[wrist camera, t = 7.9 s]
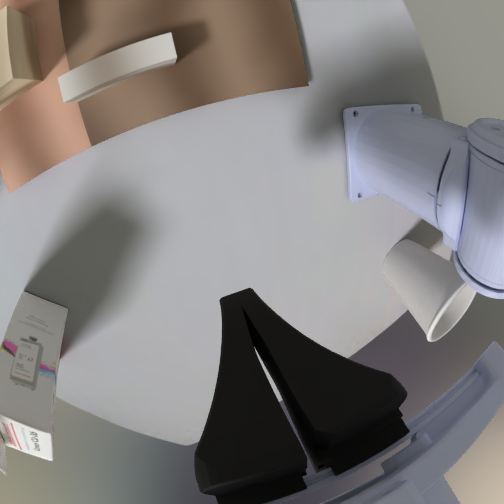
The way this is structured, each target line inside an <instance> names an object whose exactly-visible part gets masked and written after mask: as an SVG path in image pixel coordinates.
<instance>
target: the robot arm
mask: <svg viewBox="0 0 504 504" xmlns="http://www.w3.org/2000/svg"><path fill="white" fill-rule="evenodd" d="M354 111H355V116H354V115H353V112H354ZM343 120H344V130H345V141H346V154H347V170H348V194H349V199H350V200H351V201H352V202H356V201H359V200H362V199H366V198H369V197H372V196H375V195H378V194H382V195H384V196H385V197H387V198H389V199H391V200H392V201H394V202H396V203H398V204H399V205H401V206H403V207H404V208H406V209H408V210H409V211H411V212H412V213H414V214H416V215H417V216H419V217H420V218H422V219H423V220H425V221H427V222H428V223H430V224H431V225H433V226H434V227H436V228H437V229H439V230H440V231H442V232H443V243H444V244H446V245H447V246H448V247H450V248H451V249H452V250H454V255H453V256H454V264H455V267H456V269H457V271H458V273H459V275H460V276H461V278H462V279H463V280H464V281H465V282H466V283H467V284H468V285H469V286H470V287H471V288H473V289H474V290H475V291H477V292H479V293H481V294H482V295H485V296H488V297H491V298H497V299H504V120H500V119H493V118H480V119H477V120H476V121H475V122H474V123H472V124H470V125H469V126H468V127H467V128H465V127H462V126H459V125H456V124H453V123H449V122H446V121H443V120H439V119H436V118H432V117H428V116H424V115H422V108H421V106H420V105H419V104H389V105H372V106H360V107H349V108H345V109H344V111H343ZM359 193H360V194H359ZM358 194H359V196H358ZM219 301H220V305H221V313H222V344H221V356H220V365H219V372H218V378H217V383H216V388H215V392H214V397H213V401H212V405H211V408H210V412H209V415H208V418H207V422H206V425H205V428H204V431H203V433H202V436H201V439H200V441H199V444H198V446H197V449H196V451H195V460H194V461H195V464H194V465H195V475H196V480H197V483H198V486H199V489H200V492H202V493H204V494H208V495H215V496H216V499H217V502H218V504H280V503H283V502H286V501H288V500H291V499H294V498H297V497H300V496H302V495H305V494H307V493H310V492H312V491H315V490H317V489H319V488H322V487H324V486H327V485H329V484H331V483H333V482H335V481H337V480H340V479H342V478H344V477H346V476H348V475H350V474H352V473H353V472H355V471H357V470H359V469H361V468H363V467H364V466H366V465H368V464H370V463H372V462H373V461H375V460H376V459H378V458H380V457H382V456H383V455H385V454H386V453H388V452H390V451H391V450H393V449H394V448H396V447H397V446H399V445H400V444H402V443H403V442H405V441H406V440H407V439H409V438H410V437H412V438H411V443H410V444H409V445H408V446H407V447H405V448H404V449H402V450H401V451H399V452H398V453H396V454H395V455H393V456H392V457H390V458H389V459H387V460H385V461H384V462H382V463H381V467H382V468H383V470H384V472H383V473H381V474H379V475H378V476H376V477H374V478H372V479H370V480H369V481H367V482H365V483H363V484H361V485H359V486H357V487H355V488H353V489H351V490H349V491H347V492H345V493H343V494H341V495H339V496H337V497H334V498H332V499H330V500H328V501H325V502H323V503H321V504H460V502H459V501H458V499H457V497H456V496H455V494H454V492H453V491H452V489H451V488H450V486H449V484H448V483H447V481H446V480H445V478H444V476H443V475H444V474H445V473H446V472H447V471H448V470H449V469H450V468H451V467H452V466H453V465H454V464H455V463H456V462H457V461H458V460H459V459H460V458H461V457H462V455H463V454H464V453H465V452H466V451H467V450H468V449H469V448H470V446H471V445H472V444H473V443H474V442H475V440H476V439H477V438H478V437H479V435H480V434H481V433H482V431H483V430H484V429H485V428H486V426H487V425H488V424H489V422H490V421H491V420H492V418H493V417H494V415H495V414H496V413H497V411H498V410H499V408H500V407H501V405H502V404H503V402H504V350H503V349H502V348H501V347H500V346H499V345H498V344H497V342H496V341H493V343H492V344H491V345H490V346H489V347H488V348H487V350H485V352H484V353H483V354H482V355H481V356H480V357H479V359H478V360H477V361H476V362H475V364H474V366H473V367H472V368H471V369H470V370H469V371H468V372H467V373H466V374H465V375H464V376H463V377H462V378H461V379H460V380H459V381H457V382H456V383H455V384H454V385H453V386H452V387H451V388H450V389H449V390H448V391H446V392H445V393H444V394H443V395H442V396H441V397H439V398H438V399H437V400H436V401H435V402H433V403H432V404H431V405H430V406H428V407H427V408H426V409H425V410H423V411H422V412H421V413H419V414H418V415H417V416H415V417H414V418H413V419H411V420H410V421H408V422H407V423H406V424H405V423H404V422H403V420H402V419H401V417H402V416H403V415H402V413H401V411H400V410H399V407H400V406H401V404H402V403H403V402H404V400H405V399H406V397H407V391H406V390H405V389H404V387H403V386H402V385H401V384H400V383H399V382H398V381H397V380H396V379H395V378H394V377H393V376H392V375H391V374H389V373H386V372H383V371H379V370H376V369H373V368H370V367H367V366H364V365H362V364H359V363H357V362H354V361H352V360H349V359H347V358H345V357H343V356H341V355H339V354H337V353H334V352H332V351H330V350H328V349H327V348H325V347H323V346H321V345H319V344H318V343H316V342H314V341H313V340H311V339H310V338H308V337H306V336H305V335H303V334H302V333H301V332H299V331H298V330H296V329H295V328H294V327H292V326H291V325H290V324H288V323H287V322H286V321H285V320H283V319H282V318H281V317H280V316H279V315H278V314H276V313H275V312H274V311H273V310H272V309H271V308H270V307H269V306H268V305H267V304H266V303H264V302H263V300H262V299H261V298H260V297H259V296H258V295H257V294H256V293H255V292H254V290H253V289H251V288H248V289H245V290H242V291H239V292H236V293H233V294H231V295H228V296H225V297H222V298H221V299H220V300H219ZM254 347H255V348H256V350H257V352H258V354H259V356H260V358H261V360H262V361H263V363H264V365H265V367H266V369H267V370H268V372H269V374H270V376H271V377H272V379H273V381H274V383H275V385H276V387H277V389H278V390H279V392H280V395H281V397H282V399H283V401H284V404H285V406H286V408H287V410H288V412H289V415H290V417H291V419H292V421H293V424H294V426H295V428H296V430H297V432H298V435H299V437H300V439H301V441H302V444H303V446H304V448H305V450H306V452H307V455H308V457H309V459H310V461H311V464H312V466H313V468H314V470H315V472H316V474H314V475H311V476H309V477H306V478H304V479H303V478H302V476H305V475H307V474H306V468H307V456H306V454H305V453H304V450H303V448H302V446H301V444H300V442H299V440H298V438H297V436H296V434H295V433H294V431H293V429H292V427H291V425H290V423H289V421H288V419H287V417H286V415H285V413H284V411H283V409H282V407H281V405H280V403H279V401H278V399H277V397H276V395H275V393H274V391H273V389H272V387H271V385H270V383H269V381H268V379H267V376H266V374H265V372H264V370H263V368H262V366H261V363H260V361H259V359H258V357H257V354H256V352H255V348H254Z"/></svg>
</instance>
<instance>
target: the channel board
mask: <svg viewBox="0 0 504 504" xmlns="http://www.w3.org/2000/svg"><path fill="white" fill-rule="evenodd" d="M5 6H9V7H11V8H13V9H15V10H17V11H19V12H21V13H22V14H24V15H26V16H28V17H30V18H32V19H33V20H34V25H35V35H36V43H37V50H38V56H39V62H40V67H41V72H42V77H43V81H42V82H41V83H39V84H38V85H36V86H34V87H33V88H31V89H30V90H28V91H27V92H25V93H24V94H22V95H21V96H20V97H18V98H17V99H15V100H14V101H13V102H11V103H10V104H9V105H7V106H6V107H5V108H3V109H2V110H1V111H0V170H1V173H2V176H3V178H4V181H5V183H6V186H7V188H8V191H9V193H12V192H13V191H14V190H16V189H17V188H19V187H20V186H22V185H23V184H25V183H27V182H28V181H30V180H31V179H33V178H35V177H36V176H38V175H39V174H41V173H43V172H44V171H46V170H48V169H50V168H51V167H53V166H55V165H57V164H58V163H60V162H62V161H64V160H66V159H68V158H70V157H72V156H73V155H75V154H77V153H79V152H81V151H83V150H85V149H87V148H90V147H92V146H94V145H96V144H98V143H100V142H102V141H105V140H107V139H109V138H111V137H114V136H116V135H118V134H121V133H123V132H126V131H128V130H131V129H133V128H136V127H138V126H141V125H144V124H147V123H149V122H152V121H155V120H158V119H161V118H164V117H167V116H170V115H173V114H176V113H179V112H182V111H186V110H189V109H193V108H196V107H200V106H203V105H207V104H211V103H215V102H219V101H223V100H227V99H232V98H236V97H241V96H246V95H251V94H256V93H262V92H268V91H274V90H280V89H287V88H295V87H303V86H309V84H308V78H307V73H306V68H305V62H304V57H303V52H302V47H301V43H300V38H299V34H298V29H297V25H296V21H295V17H294V13H293V9H292V5H291V1H290V0H0V10H1V9H3V8H4V7H5Z"/></svg>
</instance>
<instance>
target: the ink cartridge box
mask: <svg viewBox="0 0 504 504" xmlns="http://www.w3.org/2000/svg"><path fill="white" fill-rule="evenodd" d="M67 313H68V308H65V307H63V306H60V305H57V304H55V303H52V302H49V301H47V300H44V299H41V298H39V297H37V296H34V295H32V294H29V293H27V292H23V293H22V295H21V297H20V299H19V301H18V303H17V306H16V308H15V310H14V313H13V315H12V318H11V320H10V323H9V326H8V328H7V331H6V333H5V336H4V339H3V342H2V345H1V348H0V470H1V471H2V472H3V473H4V474H5V475H7V466H6V455H5V454H6V453H5V445H7V446H10V447H12V448H15V449H17V450H20V451H23V452H25V453H28V454H31V455H34V456H37V457H40V458H44V459H47V460H50V461H53V446H54V442H53V441H54V410H55V394H56V384H57V374H58V367H59V359H60V352H61V345H62V339H63V334H64V328H65V323H66V318H67Z"/></svg>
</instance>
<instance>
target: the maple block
mask: <svg viewBox="0 0 504 504" xmlns="http://www.w3.org/2000/svg"><path fill="white" fill-rule="evenodd" d="M42 81H43V77H42V72H41V67H40V62H39V56H38V50H37V43H36V35H35V25H34V20H33V19H32V18H30V17H28V16H26V15H24V14H22V13H21V12H19V11H17V10H15V9H13V8H11V7H9V6H5V7H4V8H3V9H1V10H0V111H1V110H2V109H3V108H5V107H6V106H7V105H9V104H10V103H11V102H13V101H14V100H15V99H17V98H18V97H20V96H21V95H22V94H24V93H25V92H27V91H28V90H30V89H31V88H33V87H34V86H36V85H38V84H39V83H41V82H42Z"/></svg>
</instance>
